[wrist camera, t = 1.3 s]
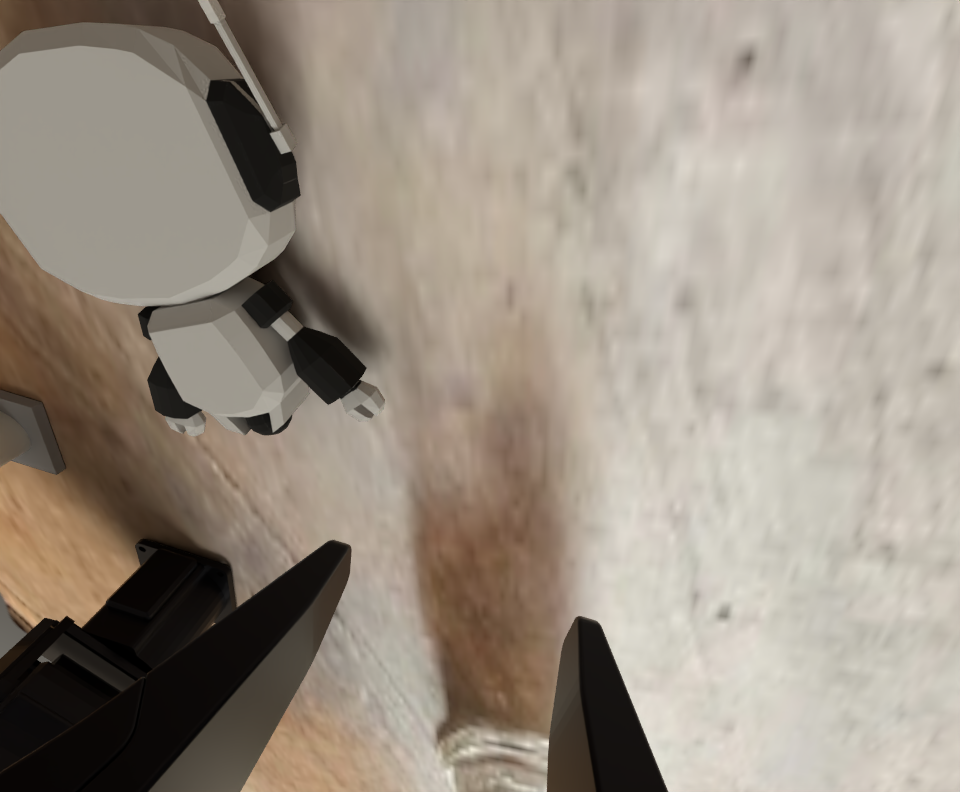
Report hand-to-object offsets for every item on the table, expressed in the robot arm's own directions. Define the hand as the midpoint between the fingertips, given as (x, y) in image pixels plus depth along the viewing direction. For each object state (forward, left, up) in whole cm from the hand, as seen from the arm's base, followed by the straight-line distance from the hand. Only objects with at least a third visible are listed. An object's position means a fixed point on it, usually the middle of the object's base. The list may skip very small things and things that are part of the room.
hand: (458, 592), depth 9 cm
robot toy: (0, +13, -12) cm, 18 cm away
